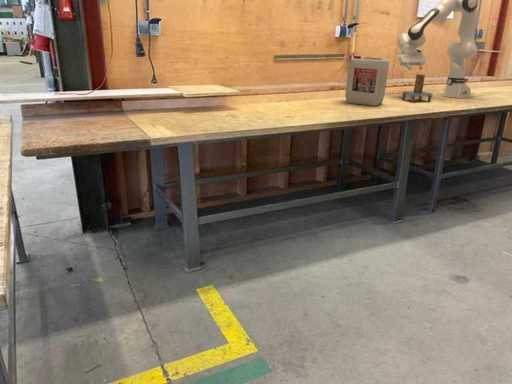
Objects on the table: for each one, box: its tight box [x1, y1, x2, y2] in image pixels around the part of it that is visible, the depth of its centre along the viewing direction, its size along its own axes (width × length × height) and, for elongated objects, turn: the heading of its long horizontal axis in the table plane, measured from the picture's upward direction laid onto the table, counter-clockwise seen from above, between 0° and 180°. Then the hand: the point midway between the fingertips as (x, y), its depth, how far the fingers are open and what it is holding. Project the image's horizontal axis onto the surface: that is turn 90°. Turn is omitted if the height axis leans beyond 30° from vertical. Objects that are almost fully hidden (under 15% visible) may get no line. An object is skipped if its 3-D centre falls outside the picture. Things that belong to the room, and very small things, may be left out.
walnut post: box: [413, 73, 426, 93], centre depth 292 cm, size 4×4×12 cm
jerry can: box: [344, 55, 390, 107], centre depth 276 cm, size 24×19×30 cm
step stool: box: [401, 90, 434, 104], centre depth 295 cm, size 16×12×6 cm
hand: (415, 69), depth 294 cm, fingers open, 8 cm apart
